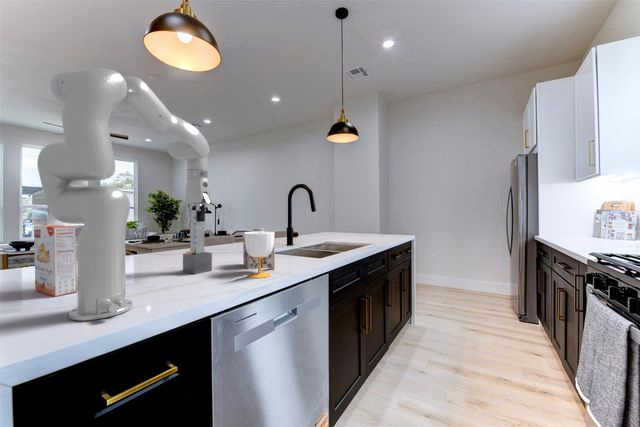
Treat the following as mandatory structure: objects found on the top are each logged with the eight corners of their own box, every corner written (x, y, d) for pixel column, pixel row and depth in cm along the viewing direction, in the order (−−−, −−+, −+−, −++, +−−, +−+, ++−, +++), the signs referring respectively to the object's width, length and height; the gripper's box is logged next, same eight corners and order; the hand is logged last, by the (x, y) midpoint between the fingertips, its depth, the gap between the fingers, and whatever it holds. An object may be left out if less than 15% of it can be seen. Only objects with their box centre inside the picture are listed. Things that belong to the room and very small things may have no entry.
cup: (277, 272, 115) (277, 231, 115) (269, 279, 103) (270, 233, 103) (250, 272, 116) (250, 231, 116) (239, 278, 104) (239, 233, 104)
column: (204, 260, 111) (204, 210, 111) (194, 261, 108) (194, 210, 108) (198, 259, 113) (198, 210, 113) (189, 260, 110) (188, 210, 109)
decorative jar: (243, 267, 126) (243, 227, 126) (268, 265, 131) (268, 227, 131) (247, 272, 116) (247, 229, 115) (275, 269, 120) (275, 228, 120)
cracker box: (33, 291, 88) (32, 225, 88) (58, 286, 93) (57, 224, 93) (52, 297, 81) (52, 226, 81) (78, 292, 87) (77, 225, 86)
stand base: (220, 273, 113) (219, 250, 113) (193, 279, 103) (193, 253, 103) (201, 270, 119) (201, 248, 119) (174, 275, 109) (174, 251, 109)
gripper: (219, 175, 109) (219, 221, 110) (193, 177, 118) (193, 220, 118) (202, 172, 103) (202, 222, 103) (176, 175, 112) (176, 221, 112)
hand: (197, 220), depth 111 cm, fingers closed on column, 3 cm apart
